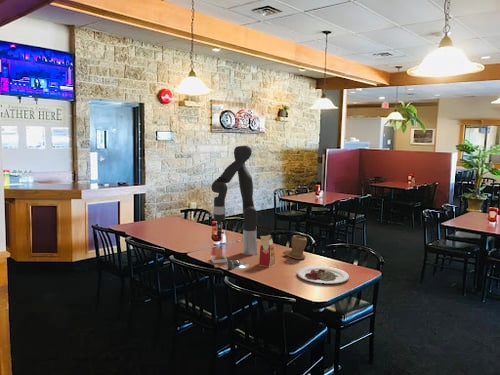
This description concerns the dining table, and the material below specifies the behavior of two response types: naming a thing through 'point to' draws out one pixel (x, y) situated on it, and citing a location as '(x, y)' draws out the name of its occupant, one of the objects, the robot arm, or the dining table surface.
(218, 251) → the stop pin
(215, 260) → the tray
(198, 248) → the dining table surface
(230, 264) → the crank
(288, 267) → the dining table surface
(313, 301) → the dining table surface
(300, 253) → the tan boot
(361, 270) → the dining table surface
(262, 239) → the milk carton
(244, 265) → the base disc
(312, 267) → the plated food
